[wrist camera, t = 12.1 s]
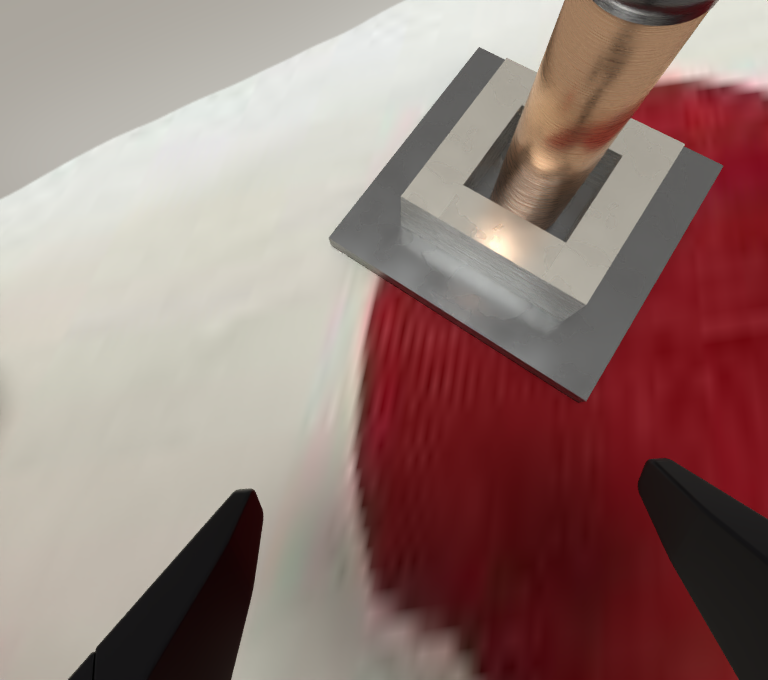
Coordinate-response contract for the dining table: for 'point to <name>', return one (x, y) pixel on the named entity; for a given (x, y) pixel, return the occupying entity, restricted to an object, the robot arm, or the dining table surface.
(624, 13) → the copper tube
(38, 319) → the dining table surface
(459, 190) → the frame
